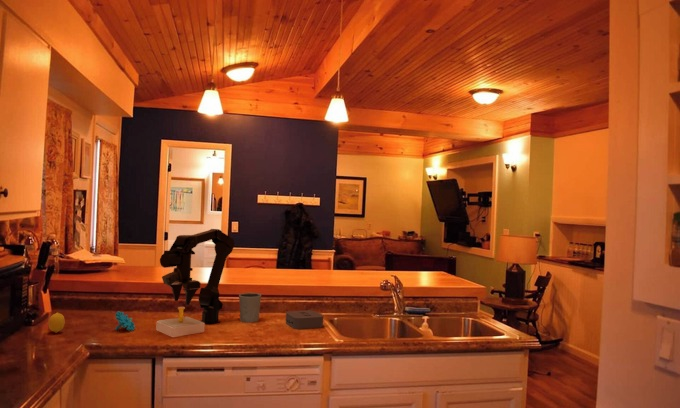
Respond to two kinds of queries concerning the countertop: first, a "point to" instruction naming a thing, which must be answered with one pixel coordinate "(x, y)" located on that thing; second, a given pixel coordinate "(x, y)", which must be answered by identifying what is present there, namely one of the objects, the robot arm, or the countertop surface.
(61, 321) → the lemon
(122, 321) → the teal lumpy piece
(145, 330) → the countertop surface
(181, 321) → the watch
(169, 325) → the stand
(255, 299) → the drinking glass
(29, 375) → the countertop surface
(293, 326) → the streaming box
